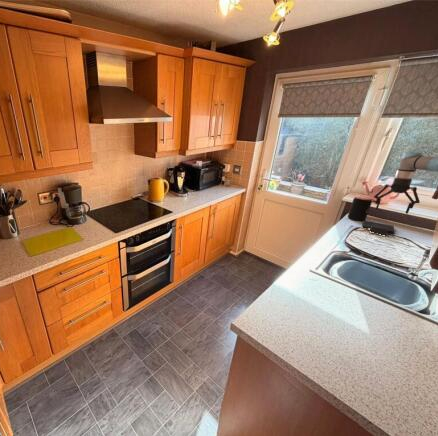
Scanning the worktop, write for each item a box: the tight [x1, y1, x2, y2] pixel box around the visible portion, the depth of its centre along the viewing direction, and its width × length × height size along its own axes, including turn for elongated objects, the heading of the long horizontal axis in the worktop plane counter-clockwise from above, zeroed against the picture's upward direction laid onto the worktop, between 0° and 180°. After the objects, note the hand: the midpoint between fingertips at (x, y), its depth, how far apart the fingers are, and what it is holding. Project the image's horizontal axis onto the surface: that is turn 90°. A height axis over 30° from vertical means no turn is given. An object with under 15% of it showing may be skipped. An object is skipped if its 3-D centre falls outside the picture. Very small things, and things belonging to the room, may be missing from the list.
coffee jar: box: [347, 194, 374, 222], centre depth 176 cm, size 11×11×18 cm
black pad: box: [370, 223, 388, 237], centre depth 156 cm, size 11×8×5 cm
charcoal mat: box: [361, 220, 396, 236], centre depth 163 cm, size 14×16×2 cm
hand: (391, 210), depth 148 cm, fingers open, 13 cm apart
